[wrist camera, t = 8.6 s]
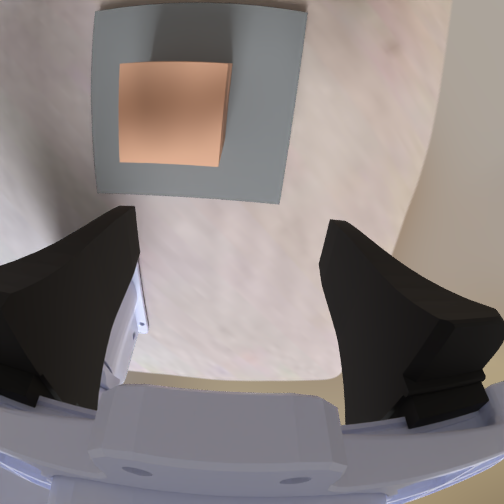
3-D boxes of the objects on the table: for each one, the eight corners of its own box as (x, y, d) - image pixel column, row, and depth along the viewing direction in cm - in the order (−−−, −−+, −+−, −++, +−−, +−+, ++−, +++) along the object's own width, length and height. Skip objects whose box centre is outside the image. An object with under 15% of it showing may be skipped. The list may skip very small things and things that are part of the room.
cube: (224, 140, 19) (218, 167, 15) (147, 137, 18) (119, 162, 14) (232, 63, 16) (228, 63, 12) (150, 61, 16) (119, 63, 11)
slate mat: (278, 199, 22) (279, 204, 21) (101, 188, 21) (97, 193, 20) (305, 14, 15) (307, 12, 14) (100, 12, 14) (95, 11, 13)
